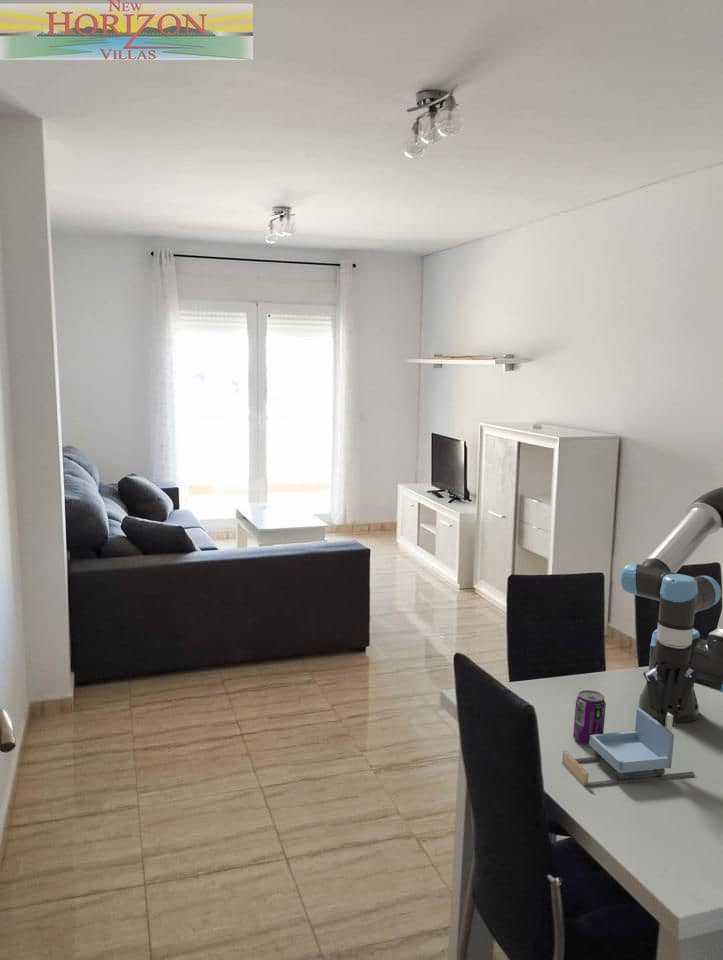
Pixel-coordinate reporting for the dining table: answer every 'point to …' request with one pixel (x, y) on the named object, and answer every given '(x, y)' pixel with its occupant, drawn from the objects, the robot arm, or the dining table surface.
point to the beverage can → (588, 715)
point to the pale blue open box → (636, 747)
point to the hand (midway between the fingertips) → (664, 739)
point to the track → (583, 779)
